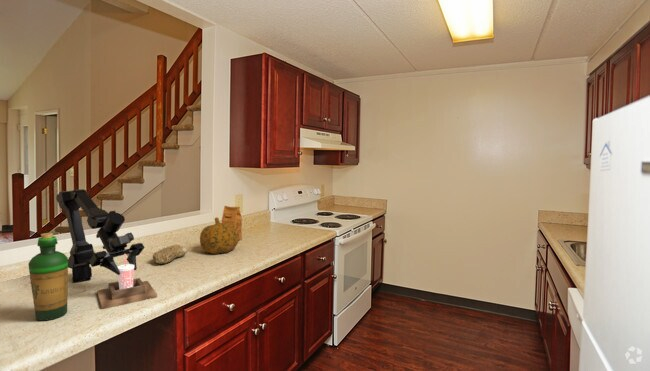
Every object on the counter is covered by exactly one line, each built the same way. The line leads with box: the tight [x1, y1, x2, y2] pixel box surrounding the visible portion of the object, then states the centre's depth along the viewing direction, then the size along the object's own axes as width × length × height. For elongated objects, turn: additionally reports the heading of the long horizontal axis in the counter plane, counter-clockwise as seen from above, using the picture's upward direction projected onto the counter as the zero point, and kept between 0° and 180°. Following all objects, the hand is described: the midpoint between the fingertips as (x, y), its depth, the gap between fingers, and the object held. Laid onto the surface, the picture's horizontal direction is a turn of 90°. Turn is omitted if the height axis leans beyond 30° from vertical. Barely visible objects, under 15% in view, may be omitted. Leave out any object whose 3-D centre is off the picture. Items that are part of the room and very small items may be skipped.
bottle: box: [27, 232, 69, 321], centre depth 119 cm, size 11×11×28 cm
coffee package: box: [221, 205, 243, 241], centre depth 227 cm, size 10×12×22 cm
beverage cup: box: [117, 254, 135, 290], centre depth 137 cm, size 6×6×14 cm
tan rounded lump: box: [152, 244, 188, 265], centre depth 183 cm, size 13×8×20 cm
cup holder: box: [96, 277, 158, 310], centre depth 137 cm, size 18×18×4 cm
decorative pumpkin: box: [199, 216, 240, 255], centre depth 200 cm, size 20×21×20 cm
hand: (127, 271), depth 136 cm, fingers closed on beverage cup, 6 cm apart
